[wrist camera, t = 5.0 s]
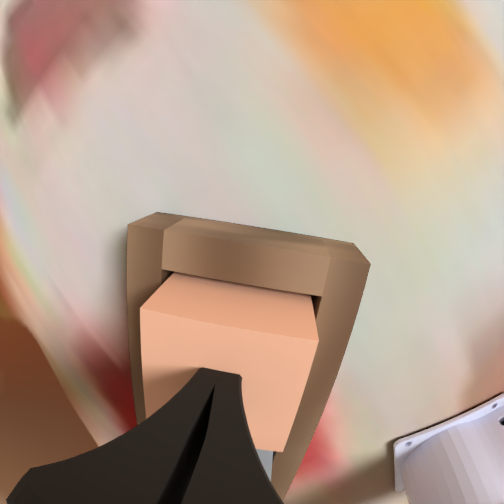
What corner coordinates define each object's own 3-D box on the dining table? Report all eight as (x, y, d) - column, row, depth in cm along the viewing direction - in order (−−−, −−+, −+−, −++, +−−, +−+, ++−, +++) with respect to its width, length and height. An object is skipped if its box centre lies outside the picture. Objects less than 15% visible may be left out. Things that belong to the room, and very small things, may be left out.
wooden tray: (353, 243, 14) (370, 263, 11) (263, 513, 21) (260, 539, 18) (157, 212, 14) (127, 224, 11) (164, 495, 21) (156, 519, 18)
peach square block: (308, 284, 13) (319, 340, 9) (284, 383, 15) (282, 452, 10) (182, 262, 13) (139, 307, 9) (178, 363, 15) (146, 424, 11)
